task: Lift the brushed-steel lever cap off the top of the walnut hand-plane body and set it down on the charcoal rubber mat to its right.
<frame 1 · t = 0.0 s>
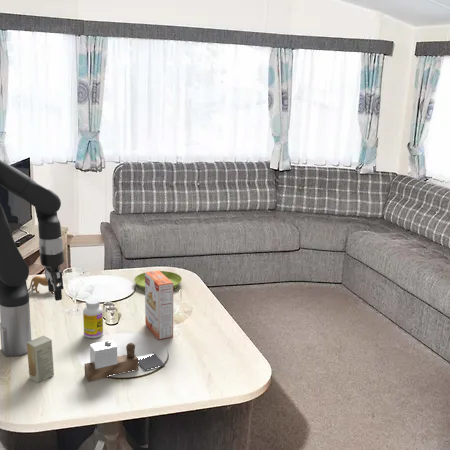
hand: (55, 295, 198), 17 cm above the table, tool pointing down, fingers open, 8 cm apart
lever cap: (103, 362, 182), point 4 cm above the table, touching plane body
rubber mat: (149, 362, 191), on the table
lion figurine: (46, 291, 247), on the table
plane body: (111, 372, 184), on the table
supplement bottle: (93, 335, 209), on the table
saucer: (158, 286, 258), on the table
cracker box: (158, 331, 214), on the table
skincare box: (41, 377, 180), on the table
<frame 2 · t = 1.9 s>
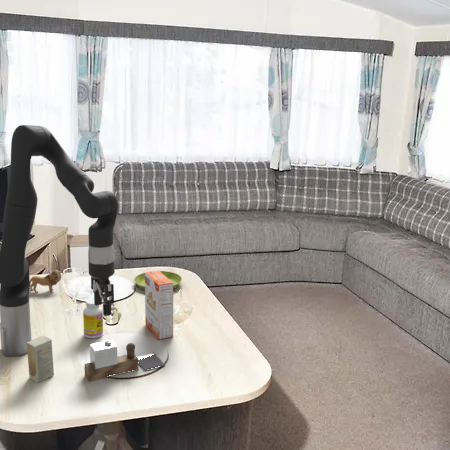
hand: (102, 309, 177), 22 cm above the table, tool pointing down, fingers open, 8 cm apart
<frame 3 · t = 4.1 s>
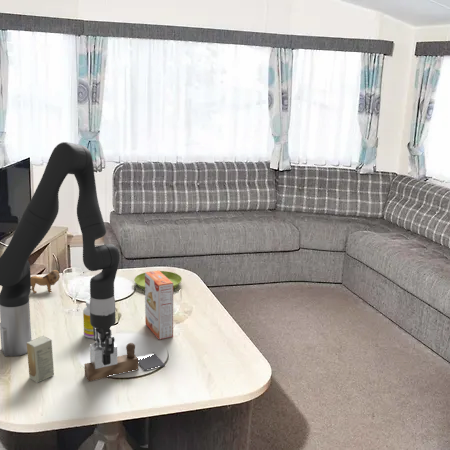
hand: (103, 359, 182), 5 cm above the table, tool pointing down, fingers closed on lever cap, 5 cm apart
lever cap: (103, 362, 182), point 4 cm above the table, touching gripper, plane body
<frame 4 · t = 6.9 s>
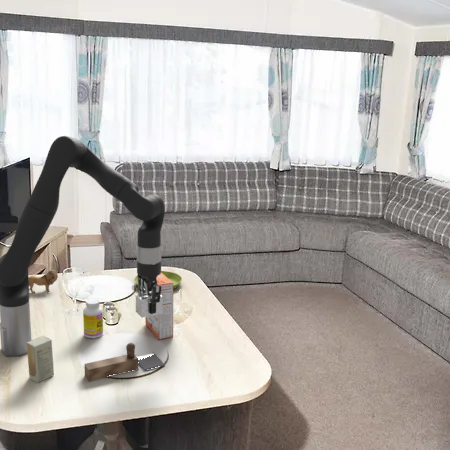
hand: (149, 309, 186), 18 cm above the table, tool pointing down, fingers closed on lever cap, 5 cm apart
lever cap: (149, 312, 187), point 17 cm above the table, touching gripper
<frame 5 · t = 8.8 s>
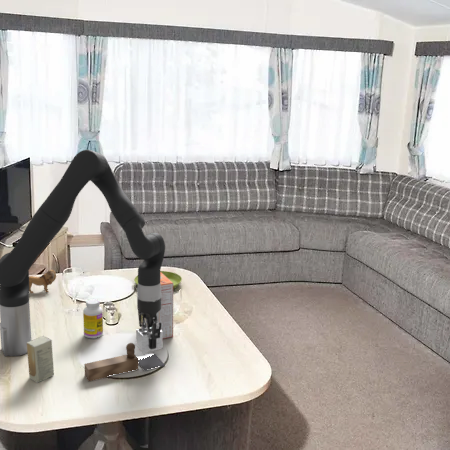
hand: (149, 344, 190), 6 cm above the table, tool pointing down, fingers closed on lever cap, 5 cm apart
lever cap: (149, 347, 190), point 5 cm above the table, touching gripper
when the fingers open (3 cm above the table, at t = 10.0 s): lever cap drops 1 cm, resting on rubber mat.
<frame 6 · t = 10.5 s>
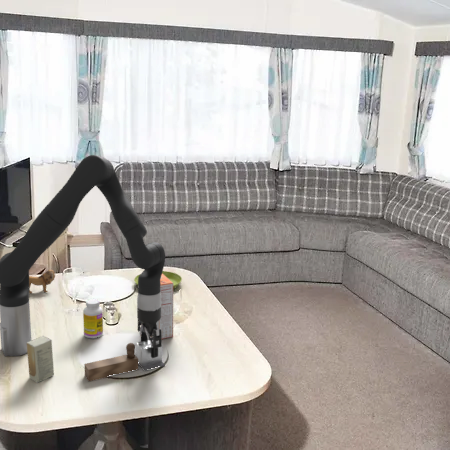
hand: (149, 351, 190), 4 cm above the table, tool pointing down, fingers open, 8 cm apart
lever cap: (149, 360, 191), point 1 cm above the table, touching rubber mat
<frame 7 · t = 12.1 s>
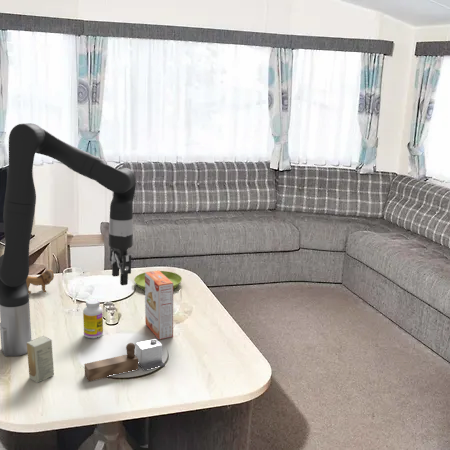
hand: (119, 280, 190), 26 cm above the table, tool pointing down, fingers open, 8 cm apart
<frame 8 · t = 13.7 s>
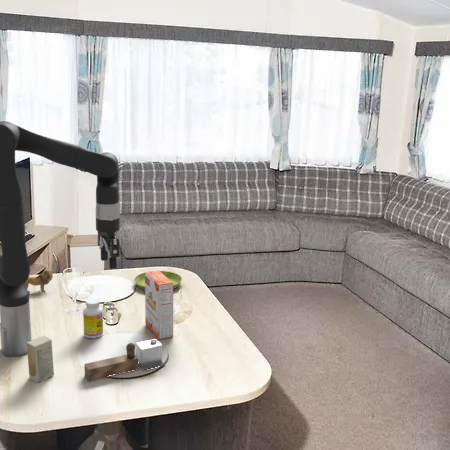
hand: (108, 264, 192), 30 cm above the table, tool pointing down, fingers open, 8 cm apart
at the end: lever cap inside the target area on the rubber mat (0.0 cm from its centre), point 0.6 cm above the rubber mat's base; lever cap touching rubber mat; the gripper is holding nothing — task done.
